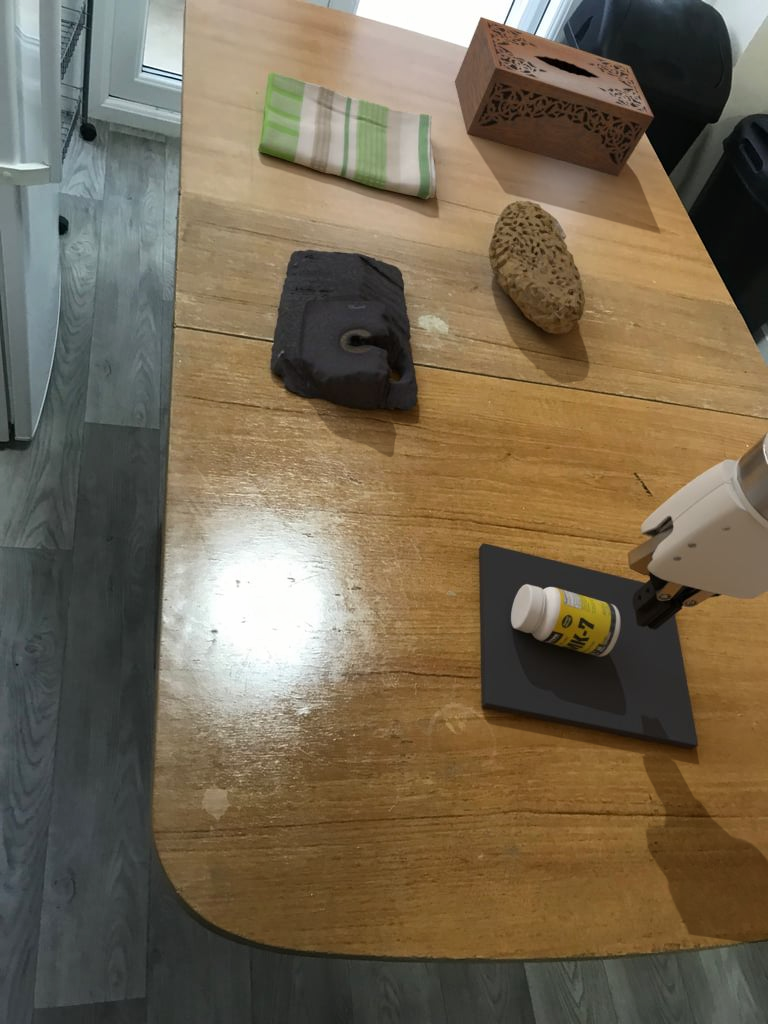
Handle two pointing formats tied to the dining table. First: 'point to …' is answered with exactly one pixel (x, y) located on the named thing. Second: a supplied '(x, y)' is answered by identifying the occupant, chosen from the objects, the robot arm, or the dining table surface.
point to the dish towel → (348, 137)
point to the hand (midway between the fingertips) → (643, 612)
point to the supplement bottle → (566, 619)
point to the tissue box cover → (550, 98)
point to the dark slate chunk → (344, 331)
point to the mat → (580, 657)
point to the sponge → (537, 267)
